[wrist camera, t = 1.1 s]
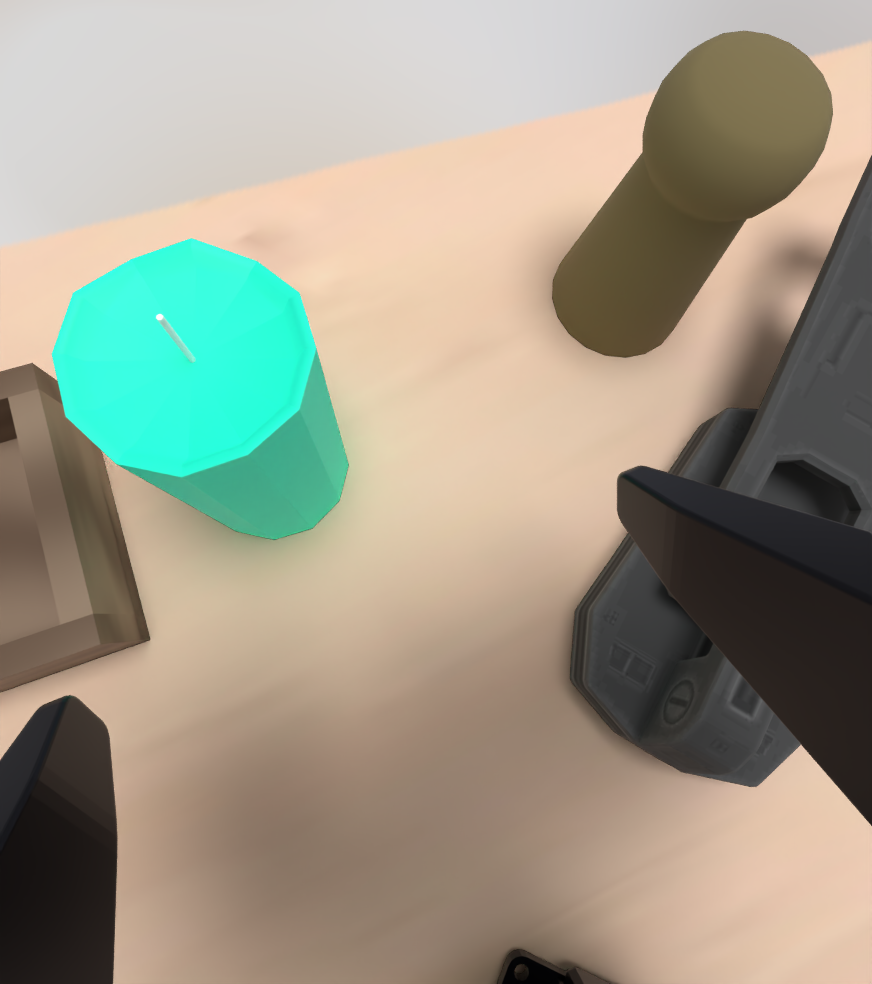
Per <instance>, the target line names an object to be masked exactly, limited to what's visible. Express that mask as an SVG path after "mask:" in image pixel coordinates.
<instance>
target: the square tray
mask: <svg viewBox="0 0 872 984" xmlns="http://www.w3.org/2000/svg"><path fill="white" fill-rule="evenodd" d="M148 640H150V637H149V633H148V629H147V626H146V622H145V618H144V614H143V610H142V606H141V602H140V599H139V595H138V591H137V587H136V583H135V579H134V575H133V572H132V568H131V564H130V560H129V556H128V552H127V548H126V545H125V541H124V537H123V533H122V529H121V525H120V521H119V518H118V514H117V510H116V506H115V502H114V498H113V494H112V491H111V487H110V483H109V479H108V475H107V471H106V467H105V464H104V460H103V456H102V452H101V449H100V448H99V447H98V446H96V445H95V444H94V443H93V442H92V441H91V440H90V439H89V438H88V437H87V436H86V435H85V434H84V433H83V432H82V431H80V430H79V429H78V428H77V427H76V426H75V425H74V424H73V423H72V422H71V421H70V420H69V419H68V418H67V417H66V416H65V412H64V407H63V403H62V398H61V394H60V389H59V385H58V381H57V380H55V379H54V378H53V377H51V376H50V375H48V374H47V373H46V372H44V371H43V370H41V369H40V368H38V367H37V366H36V365H34V364H33V363H30V364H27V365H23V366H19V367H16V368H12V369H8V370H5V371H1V372H0V692H3V691H6V690H9V689H12V688H15V687H18V686H20V685H23V684H26V683H29V682H32V681H35V680H37V679H40V678H43V677H46V676H49V675H52V674H55V673H57V672H60V671H63V670H66V669H69V668H72V667H74V666H77V665H80V664H83V663H86V662H89V661H91V660H94V659H97V658H100V657H103V656H106V655H109V654H111V653H114V652H117V651H120V650H123V649H126V648H128V647H131V646H134V645H137V644H140V643H143V642H145V641H148Z"/></svg>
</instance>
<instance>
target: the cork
mask: <svg viewBox="0 0 872 984" xmlns="http://www.w3.org/2000/svg"><path fill="white" fill-rule="evenodd" d="M832 116H833V108H832V97H831V92H830V90H829V87H828V85H827V83H826V81H825V78H824V76H823V74H822V73H821V72H820V70H819V69H818V68H817V67H816V66H815V65H814V63H813V62H812V61H811V60H810V59H809V57H808V56H807V55H806V54H804V53H803V52H801V51H800V50H799V49H797V48H796V47H795V46H793V45H792V44H790V43H788V42H786V41H783V40H781V39H779V38H776V37H774V36H771V35H769V34H763V33H756V32H749V31H738V32H730V33H723V34H720V35H718V36H716V37H714V38H712V39H710V40H707V41H705V42H704V43H702V44H700V45H699V46H697V47H696V48H694V49H693V50H691V51H689V52H688V53H687V55H686V56H685V57H683V58H682V59H681V61H680V62H679V63H678V64H677V65H676V66H675V67H674V68H673V69H672V70H671V71H670V73H669V74H668V75H667V76H666V77H665V79H664V80H663V81H662V83H661V85H660V87H659V89H658V91H657V93H656V95H655V97H654V100H653V102H652V105H651V107H650V110H649V112H648V115H647V117H646V122H645V126H644V131H643V152H642V154H641V155H640V156H639V158H638V159H637V161H636V162H635V163H634V165H633V166H632V167H631V169H630V170H629V171H628V173H627V174H626V175H625V177H624V178H623V179H622V181H621V182H620V183H619V185H618V186H617V187H616V189H615V190H614V192H613V193H612V194H611V196H610V197H609V198H608V200H607V201H606V202H605V204H604V205H603V206H602V208H601V209H600V210H599V212H598V213H597V214H596V216H595V217H594V219H593V220H592V221H591V223H590V224H589V225H588V227H587V228H586V229H585V231H584V232H583V233H582V235H581V236H580V237H579V239H578V240H577V241H576V243H575V244H574V246H573V247H572V248H571V250H570V251H569V252H568V254H567V255H566V256H565V258H564V259H563V260H562V262H561V263H560V265H559V267H558V270H557V272H556V274H555V277H554V279H553V294H552V299H553V303H554V306H555V309H556V313H557V316H558V318H559V320H560V321H561V322H562V324H563V325H564V327H565V328H566V330H567V331H568V333H569V334H570V335H571V336H573V337H574V338H575V339H576V340H578V341H579V342H580V343H581V344H583V345H584V346H585V347H587V348H589V349H592V350H594V351H596V352H599V353H601V354H603V355H608V356H617V357H631V356H636V355H641V354H645V353H647V352H649V351H651V350H652V349H654V348H656V347H658V346H659V345H661V344H662V343H663V342H664V340H665V339H666V338H667V337H668V336H669V334H670V333H671V332H672V331H673V329H674V328H675V326H676V325H677V323H678V322H679V320H680V319H681V317H682V316H683V314H684V313H685V311H686V310H687V308H688V307H689V305H690V304H691V302H692V301H693V299H694V298H695V296H696V295H697V293H698V292H699V290H700V289H701V287H702V286H703V284H704V283H705V281H706V280H707V278H708V277H709V275H710V274H711V272H712V271H713V269H714V268H715V266H716V265H717V263H718V262H719V260H720V259H721V257H722V256H723V254H724V253H725V251H726V250H727V248H728V247H729V245H730V243H731V242H732V240H733V239H734V237H735V236H736V234H737V233H738V231H739V230H740V228H741V227H742V225H743V224H744V222H745V221H746V219H747V218H752V217H754V216H756V215H758V214H760V213H762V212H763V211H765V210H767V209H769V208H771V207H772V206H774V205H775V204H777V203H779V202H780V201H782V200H783V199H785V198H786V197H787V196H788V195H789V194H790V193H791V192H792V191H793V190H794V189H795V188H796V187H797V186H798V185H799V184H800V183H801V182H802V181H803V179H804V178H805V177H806V176H807V175H808V173H809V172H810V171H811V170H812V169H813V167H814V166H815V164H816V163H817V161H818V159H819V157H820V156H821V154H822V152H823V150H824V148H825V144H826V141H827V138H828V134H829V131H830V126H831V121H832Z"/></svg>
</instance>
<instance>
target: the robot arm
mask: <svg viewBox="0 0 872 984" xmlns="http://www.w3.org/2000/svg"><path fill="white" fill-rule="evenodd" d="M617 512H618V516H619V519H620V521H621V523H622V524H623V526H624V527H625V529H626V530H627V532H628V533H629V535H630V536H631V537H632V539H633V540H634V542H635V543H636V545H637V546H638V548H639V549H640V551H641V552H642V553H643V555H644V556H645V558H646V559H647V561H648V562H649V564H650V565H651V567H652V568H653V569H654V571H655V572H656V574H657V575H658V577H659V578H660V580H661V581H662V582H663V584H664V585H665V586H666V588H667V589H668V591H669V592H670V593H671V594H672V596H673V597H674V598H675V599H676V600H677V602H678V603H679V604H680V605H681V606H682V607H683V609H684V610H685V611H686V612H687V613H688V614H689V616H690V617H691V618H692V619H693V620H694V621H695V622H696V624H697V625H698V626H699V627H700V628H701V629H702V631H703V632H704V633H705V634H706V635H707V636H708V637H709V639H710V640H711V641H712V642H713V643H714V644H715V646H716V647H717V648H718V649H719V650H720V651H721V652H722V654H723V655H724V656H725V657H726V658H727V659H728V661H729V662H730V663H731V664H732V665H733V666H734V667H735V669H736V670H737V671H738V672H739V673H740V674H741V676H742V677H743V678H744V679H745V680H746V681H747V683H748V684H749V685H750V686H751V687H752V688H753V689H754V691H755V692H756V693H757V694H758V695H759V696H760V698H761V699H762V700H763V701H764V702H765V703H766V704H767V706H768V707H769V708H770V709H771V710H772V711H773V713H774V714H775V715H776V716H777V717H778V718H779V719H780V721H781V722H782V723H783V724H784V725H785V726H786V728H787V729H788V730H789V731H790V732H791V733H792V734H793V736H794V737H795V738H796V739H797V740H798V741H799V743H800V744H801V745H802V746H803V747H804V748H805V749H806V751H807V752H808V753H809V754H810V755H811V756H812V758H813V759H814V760H815V761H816V762H817V763H818V764H819V766H820V767H821V768H822V769H823V770H824V771H825V773H826V774H827V775H828V776H829V777H830V778H831V779H832V781H833V782H834V783H835V784H836V785H837V786H838V788H839V789H840V790H841V791H842V792H843V793H844V795H845V796H846V797H847V798H848V799H849V800H850V801H851V803H852V804H853V805H854V806H855V807H856V808H857V810H858V811H859V812H860V813H861V814H862V815H863V816H864V818H865V819H866V820H867V821H868V822H869V823H870V825H871V826H872V532H870V531H866V530H863V529H860V528H856V527H853V526H849V525H846V524H842V523H839V522H835V521H832V520H829V519H825V518H822V517H818V516H815V515H811V514H808V513H805V512H801V511H798V510H794V509H791V508H787V507H784V506H780V505H777V504H774V503H770V502H767V501H763V500H760V499H756V498H753V497H750V496H746V495H743V494H739V493H736V492H732V491H729V490H725V489H722V488H719V487H715V486H712V485H708V484H705V483H701V482H698V481H694V480H691V479H688V478H684V477H681V476H677V475H674V474H670V473H667V472H664V471H660V470H657V469H653V468H650V467H646V466H637V467H634V468H632V469H629V470H627V471H624V472H622V473H621V474H619V476H618V478H617ZM116 878H117V819H116V807H115V795H114V784H113V772H112V760H111V749H110V738H109V733H108V730H107V727H106V725H105V724H104V722H103V721H102V720H101V719H100V718H99V717H98V716H96V715H95V714H94V713H93V712H92V711H91V710H90V709H89V708H88V707H87V706H86V705H85V704H84V703H82V702H81V701H80V700H79V699H78V698H77V697H75V696H71V695H69V696H64V697H62V698H59V699H57V700H54V701H52V702H49V703H47V704H44V705H43V706H41V707H40V708H39V709H38V710H37V711H36V712H35V713H34V715H33V716H32V717H31V719H30V720H29V721H28V723H27V724H26V725H25V727H24V728H23V730H22V731H21V732H20V734H19V735H18V736H17V738H16V739H15V741H14V742H13V743H12V745H11V746H10V747H9V749H8V750H7V752H6V753H5V754H4V756H3V757H2V758H1V760H0V984H113V970H114V940H115V909H116ZM519 964H524V965H525V966H526V969H525V971H524V972H523V973H521V974H516V973H515V972H514V970H515V968H516V966H517V965H519ZM497 984H610V983H608V982H606V981H604V980H602V979H600V978H598V977H596V976H594V975H592V974H590V973H588V972H586V971H583V970H581V969H579V968H577V967H574V968H570V969H568V970H567V971H565V970H563V969H561V968H559V967H557V966H555V965H553V964H551V963H549V962H547V961H544V960H542V959H540V958H538V957H536V956H534V955H532V954H530V953H528V952H526V951H524V950H520V949H518V950H514V951H512V952H511V953H510V954H509V955H508V957H507V958H506V961H505V963H504V966H503V969H502V971H501V974H500V977H499V980H498V982H497Z"/></svg>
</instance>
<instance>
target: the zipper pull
mask: <svg viewBox="0 0 872 984" xmlns="http://www.w3.org/2000/svg"><path fill="white" fill-rule="evenodd" d="M668 473H670V474H674V475H677V476H681V477H684V478H688V479H691V480H694V481H698V482H701V483H705V484H708V485H712V486H715V487H719V488H722V489H725V490H729V491H732V492H736V493H739V494H743V495H746V496H750V497H753V498H756V499H760V500H763V501H767V502H770V503H774V504H777V505H780V506H784V507H787V508H791V509H794V510H798V511H801V512H805V513H808V514H811V515H815V516H818V517H822V518H825V519H829V520H832V521H835V522H839V523H842V524H846V525H849V526H853V527H856V528H860V529H863V530H866V531H870V532H872V156H871V158H870V160H869V162H868V164H867V167H866V169H865V171H864V173H863V175H862V178H861V180H860V182H859V184H858V186H857V189H856V191H855V193H854V195H853V197H852V200H851V202H850V204H849V206H848V208H847V211H846V213H845V215H844V217H843V219H842V222H841V224H840V226H839V229H838V231H837V234H836V236H835V239H834V241H833V244H832V246H831V249H830V251H829V253H828V255H827V258H826V260H825V262H824V264H823V267H822V269H821V271H820V273H819V275H818V278H817V280H816V282H815V284H814V287H813V289H812V291H811V293H810V296H809V298H808V300H807V302H806V305H805V307H804V309H803V311H802V313H801V316H800V318H799V320H798V322H797V325H796V327H795V329H794V331H793V334H792V336H791V338H790V340H789V343H788V345H787V347H786V349H785V351H784V354H783V356H782V358H781V360H780V363H779V365H778V367H777V369H776V372H775V374H774V376H773V378H772V381H771V383H770V385H769V387H768V390H767V392H766V394H765V396H764V398H763V401H762V403H761V405H760V407H759V409H740V408H728V409H725V410H724V411H722V412H721V413H719V414H717V415H716V416H714V417H713V418H711V419H709V420H708V421H706V422H705V423H703V424H702V425H700V426H699V428H698V429H697V430H696V432H695V433H694V434H693V436H692V437H691V439H690V440H689V442H688V443H687V445H686V446H685V448H684V449H683V451H682V452H681V454H680V455H679V457H678V458H677V460H676V461H675V463H674V464H673V466H672V468H671V469H670V471H669V472H668ZM570 680H571V681H572V683H573V684H574V686H575V687H576V688H577V689H578V690H579V691H580V693H581V694H582V695H583V696H584V697H585V699H586V700H587V701H588V702H589V703H590V704H591V706H592V707H593V708H594V709H595V710H596V711H597V713H598V714H599V715H600V716H601V717H602V718H603V720H604V721H605V722H606V723H607V724H608V725H609V727H610V728H611V729H612V730H613V731H614V732H615V733H617V734H618V735H620V736H622V737H623V738H625V739H627V740H628V741H630V742H631V743H633V744H635V745H636V746H638V747H640V748H641V749H643V750H645V751H646V752H648V753H650V754H651V755H653V756H655V757H656V758H658V759H659V760H661V761H663V762H665V763H667V764H669V765H671V766H673V767H674V768H676V769H678V770H679V771H681V772H684V773H689V774H693V775H698V776H703V777H708V778H712V779H717V780H721V781H726V782H730V783H735V784H740V785H744V786H749V787H757V786H758V785H759V784H760V783H762V782H763V781H764V780H765V779H766V778H767V777H768V776H769V775H770V774H771V773H772V772H773V771H774V770H775V769H776V768H777V767H778V766H779V765H780V764H781V763H782V762H783V761H784V760H785V759H786V758H787V757H788V756H789V755H791V754H792V753H793V752H794V751H795V750H796V749H797V748H798V747H799V746H800V745H801V744H800V743H799V741H798V740H797V739H796V738H795V737H794V736H793V734H792V733H791V732H790V731H789V730H788V729H787V728H786V726H785V725H784V724H783V723H782V722H781V721H780V719H779V718H778V717H777V716H776V715H775V714H774V713H773V711H772V710H771V709H770V708H769V707H768V706H767V704H766V703H765V702H764V701H763V700H762V699H761V698H760V696H759V695H758V694H757V693H756V692H755V691H754V689H753V688H752V687H751V686H750V685H749V684H748V683H747V681H746V680H745V679H744V678H743V677H742V676H741V674H740V673H739V672H738V671H737V670H736V669H735V667H734V666H733V665H732V664H731V663H730V662H729V661H728V659H727V658H726V657H725V656H724V655H723V654H722V652H721V651H720V650H719V649H718V648H717V647H716V646H715V644H714V643H713V642H712V641H711V640H710V639H709V637H708V636H707V635H706V634H705V633H704V632H703V631H702V629H701V628H700V627H699V626H698V625H697V624H696V622H695V621H694V620H693V619H692V618H691V617H690V616H689V614H688V613H687V612H686V611H685V610H684V609H683V607H682V606H681V605H680V604H679V603H678V602H677V600H676V599H675V598H674V597H673V596H672V594H671V593H670V592H669V591H668V589H667V588H666V586H665V585H664V584H663V582H662V581H661V580H660V578H659V577H658V575H657V574H656V572H655V571H654V569H653V568H652V567H651V565H650V564H649V562H648V561H647V559H646V558H645V556H644V555H643V553H642V552H641V551H640V549H639V548H638V546H637V545H636V543H635V542H634V540H633V539H632V537H631V536H630V535H629V533H628V534H627V535H626V537H625V538H624V540H623V541H622V543H621V544H620V546H619V547H618V549H617V550H616V552H615V553H614V555H613V556H612V558H611V559H610V561H609V562H608V563H607V565H606V566H605V568H604V569H603V571H602V572H601V574H600V575H599V576H598V578H597V579H596V581H595V582H594V584H593V585H592V586H591V588H590V589H589V591H588V592H587V594H586V595H585V596H584V598H583V599H582V601H581V602H580V604H579V605H578V606H577V608H576V610H575V620H574V632H573V644H572V657H571V669H570Z"/></svg>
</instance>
